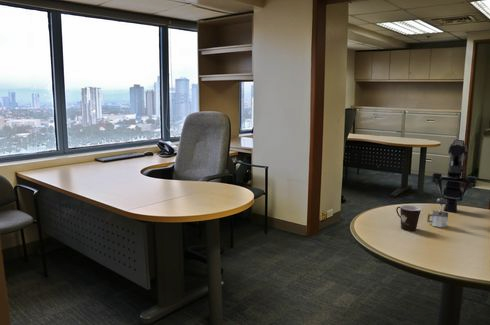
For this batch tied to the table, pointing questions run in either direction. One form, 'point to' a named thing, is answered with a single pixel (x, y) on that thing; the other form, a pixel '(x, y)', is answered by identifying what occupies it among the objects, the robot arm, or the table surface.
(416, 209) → the coffee mug
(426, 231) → the table surface
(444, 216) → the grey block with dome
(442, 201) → the plunger
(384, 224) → the table surface
